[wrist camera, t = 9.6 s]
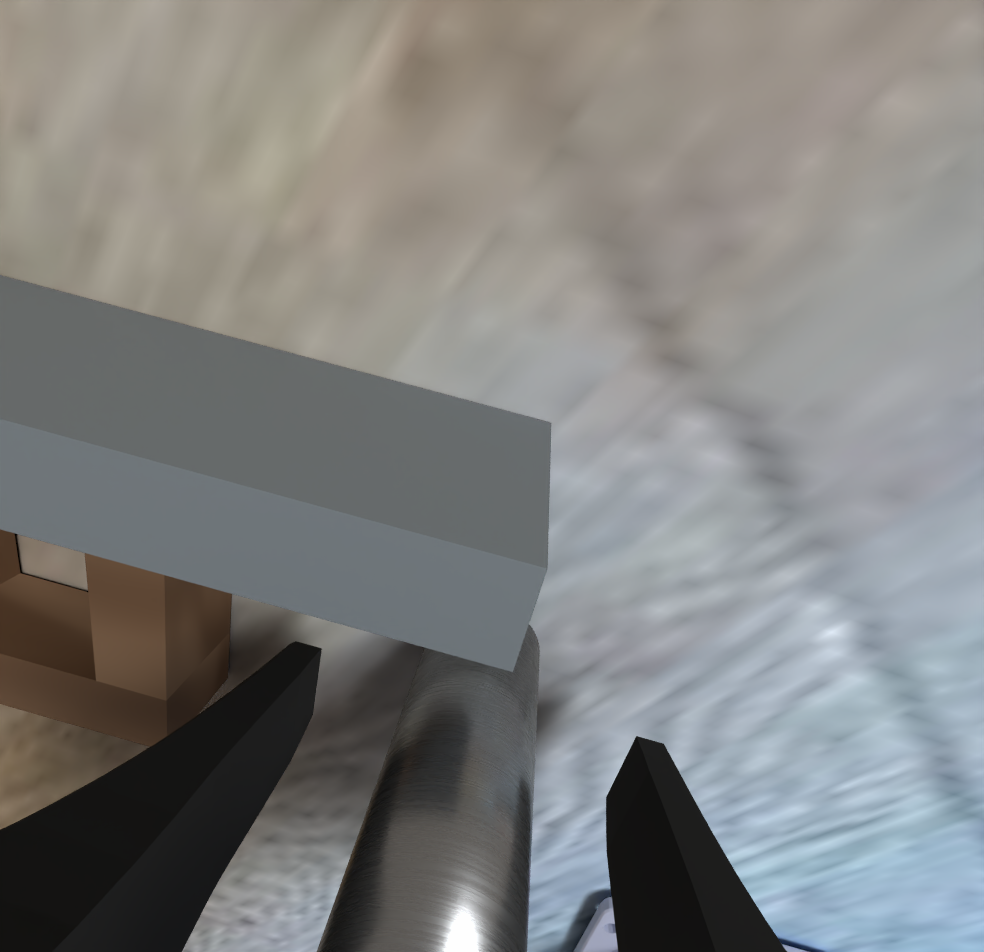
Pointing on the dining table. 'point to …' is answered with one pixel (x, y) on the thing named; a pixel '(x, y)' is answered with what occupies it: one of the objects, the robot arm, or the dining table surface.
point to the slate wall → (271, 474)
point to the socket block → (111, 647)
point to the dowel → (448, 817)
